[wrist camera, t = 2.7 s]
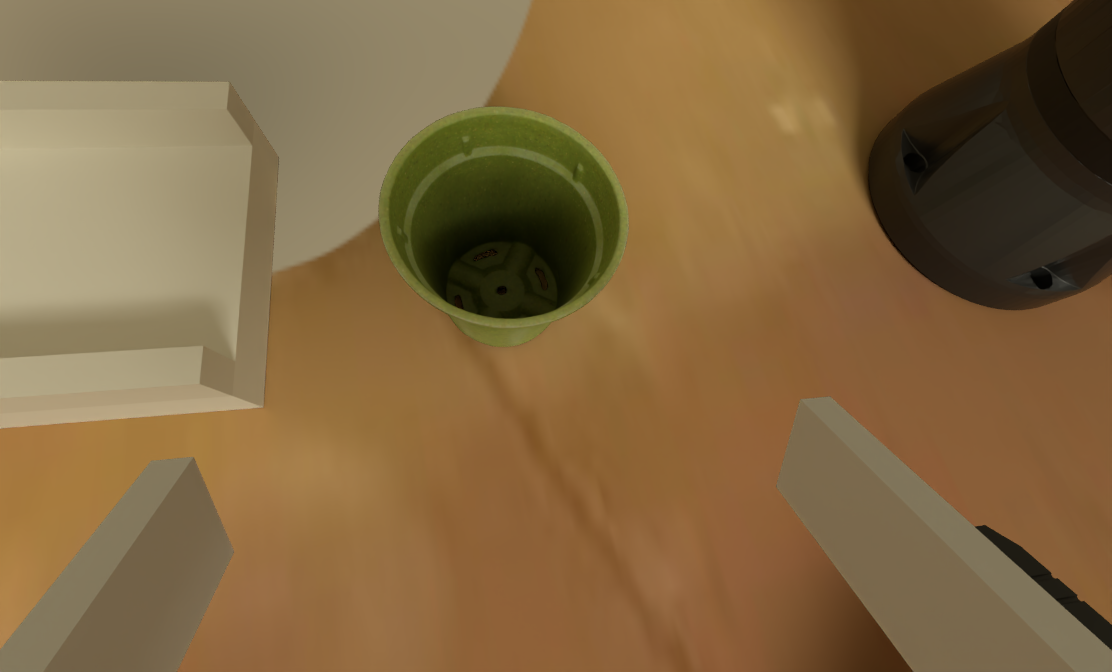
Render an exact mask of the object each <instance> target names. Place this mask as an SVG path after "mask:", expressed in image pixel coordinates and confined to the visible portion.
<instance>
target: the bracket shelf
mask: <svg viewBox="0 0 1112 672" xmlns="http://www.w3.org/2000/svg"><path fill="white" fill-rule="evenodd" d="M278 165H279V157H278V156H277V154H276V153H275V151H274V149H273V148H272V147H271V145H270V143H269V142H268V140H267V139H266V137H265V136H264V134H263V132H262V131H261V129H260V128H259V126H258V125H257V123H256V122H255V120H254V119H253V117H252V116H251V114H250V112H249V111H248V110H247V108H246V106H245V105H244V103H243V102H242V100H241V99H240V97H239V95H238V94H237V92H236V91H235V89H234V88H233V86H232V85H231V83H230V82H195V81H191V82H190V81H189V82H188V81H186V82H185V81H182V82H181V81H176V82H175V81H174V82H173V81H0V428H11V427H23V426H36V425H48V424H61V423H74V422H86V421H99V420H111V419H124V418H137V417H149V416H162V415H174V414H187V413H200V412H212V411H225V410H237V409H250V408H263V407H264V390H265V374H266V358H267V342H268V326H269V310H270V294H271V278H272V261H273V245H274V244H273V243H274V228H275V213H276V197H277V181H278Z"/></svg>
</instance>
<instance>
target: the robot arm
mask: <svg viewBox="0 0 1112 672" xmlns="http://www.w3.org/2000/svg"><path fill="white" fill-rule="evenodd" d="M869 184H870V191H871V195H872V199H873V203H874V206H875V209H876V211H877V214H878V216H879V218H880V220H881V222H882V224H883V226H884V228H885V230H886V231H887V233H888V235H889V236H890V238H891V239H892V241H893V242H894V244H895V245H896V246H897V247H898V249H899V250H900V251H901V252H902V254H903V255H904V256H905V257H906V258H907V259H908V260H909V261H910V262H911V263H912V264H913V265H914V266H915V267H916V268H917V269H918V270H919V271H920V272H922V273H923V274H924V275H925V276H927V277H928V278H929V279H930V280H932V281H933V282H935V283H936V284H937V285H939V286H941V287H942V288H944V289H945V290H947V291H949V292H951V293H953V294H955V295H957V296H959V297H961V298H963V299H965V300H968V301H970V302H973V303H976V304H979V305H983V306H987V307H991V308H996V309H1004V310H1025V309H1032V308H1037V307H1041V306H1044V305H1047V304H1050V303H1053V302H1055V301H1058V300H1061V299H1064V298H1067V297H1070V296H1073V295H1076V294H1078V293H1081V292H1083V291H1085V290H1087V289H1089V288H1091V287H1093V286H1095V285H1097V284H1098V283H1100V282H1101V281H1102V280H1104V279H1105V278H1107V277H1108V276H1109V275H1111V274H1112V0H1073V1H1072V2H1071V3H1070V4H1069V5H1068V6H1067V7H1065V8H1064V9H1063V10H1062V11H1061V12H1060V13H1058V14H1057V15H1056V16H1055V17H1054V18H1052V19H1051V20H1050V21H1049V22H1048V23H1047V24H1045V25H1044V26H1043V27H1042V28H1040V29H1039V30H1038V31H1037V32H1036V33H1034V34H1033V35H1032V36H1031V37H1029V38H1028V39H1026V40H1025V41H1023V42H1021V43H1019V44H1017V45H1015V46H1013V47H1011V48H1009V49H1007V50H1005V51H1003V52H1001V53H999V54H998V55H996V56H994V57H992V58H990V59H988V60H986V61H984V62H982V63H980V64H978V65H976V66H974V67H972V68H970V69H968V70H966V71H964V72H962V73H960V74H958V75H957V76H955V77H953V78H951V79H949V80H947V81H945V82H943V83H941V84H939V85H937V86H935V87H933V88H931V89H929V90H928V91H926V92H924V93H923V94H921V95H920V96H919V97H917V98H916V99H914V100H913V101H912V102H911V103H910V104H909V105H907V106H906V107H905V108H904V109H903V110H902V111H901V112H900V113H899V114H898V115H897V116H896V117H895V118H894V119H893V120H892V121H891V122H889V123H888V124H887V125H886V127H885V128H884V129H883V130H882V131H881V133H880V134H879V136H878V138H877V139H876V141H875V144H874V146H873V149H872V152H871V156H870V162H869ZM776 487H777V489H778V490H779V491H780V493H781V494H782V495H783V497H784V498H785V499H786V501H787V502H788V503H789V505H790V506H791V507H792V509H793V510H794V512H795V513H796V514H797V516H798V517H799V518H800V520H801V521H802V522H803V524H804V525H805V526H806V528H807V529H808V530H809V532H810V533H811V534H812V536H813V537H814V538H815V540H816V541H817V543H818V544H819V545H820V547H821V548H822V549H823V551H824V552H825V553H826V555H827V556H828V557H829V559H830V560H831V561H832V563H833V564H834V565H835V567H836V568H837V569H838V571H839V572H840V574H841V575H842V576H843V578H844V579H845V580H846V582H847V583H848V584H849V586H850V587H851V588H852V590H853V591H854V592H855V594H856V595H857V596H858V598H859V599H860V600H861V602H862V603H863V605H864V606H865V607H866V609H867V610H868V611H869V613H870V614H871V615H872V617H873V618H874V619H875V621H876V622H877V623H878V625H879V626H880V627H881V629H882V630H883V631H884V633H885V634H886V636H887V637H888V638H889V640H890V641H891V642H892V644H893V645H894V646H895V648H896V649H897V650H898V652H899V653H900V654H901V656H902V657H903V658H904V660H905V661H906V663H907V664H908V665H909V667H910V668H911V669H912V671H913V672H1112V625H1111V624H1110V623H1109V622H1108V621H1107V620H1105V619H1104V618H1103V617H1102V616H1101V615H1100V614H1098V613H1097V612H1096V611H1095V610H1094V609H1093V608H1091V607H1090V606H1089V605H1088V604H1087V603H1086V602H1085V601H1082V602H1081V601H1080V600H1079V599H1078V598H1077V595H1076V594H1075V593H1074V592H1073V591H1072V590H1071V589H1069V588H1068V587H1067V586H1066V585H1065V584H1064V583H1062V582H1061V581H1060V580H1059V579H1058V578H1056V579H1054V578H1053V577H1052V575H1051V572H1050V571H1049V570H1047V569H1046V568H1045V567H1044V566H1043V565H1042V564H1040V563H1039V562H1038V561H1037V560H1036V559H1035V558H1033V557H1032V556H1031V555H1030V554H1029V553H1028V552H1026V551H1025V550H1024V549H1023V548H1022V547H1021V546H1019V545H1017V544H1016V543H1014V542H1012V541H1011V540H1009V539H1007V538H1006V537H1004V536H1002V535H1001V534H999V533H997V532H996V531H994V530H992V529H990V528H989V527H987V526H985V525H983V526H976V527H974V526H973V525H972V524H971V523H970V522H969V521H967V520H966V519H965V518H964V517H963V516H962V515H961V514H960V513H959V512H957V511H956V510H955V509H954V508H953V507H952V506H951V505H950V504H949V503H948V502H946V501H945V500H944V499H943V498H942V497H941V496H940V495H939V494H938V493H936V492H935V491H934V490H933V489H932V488H931V487H930V486H929V485H928V484H926V483H925V482H924V481H923V480H922V479H921V478H920V477H919V476H918V475H916V474H915V473H914V472H913V471H912V470H911V469H910V468H909V467H908V466H906V465H905V464H904V463H903V462H902V461H901V460H900V459H899V458H898V457H896V456H895V455H894V454H893V453H892V452H891V451H890V450H889V449H888V448H886V447H885V446H884V445H883V444H882V443H881V442H880V441H879V440H878V439H877V438H875V437H874V436H873V435H872V434H871V433H870V432H869V431H868V430H867V429H865V428H864V427H863V426H862V425H861V424H860V423H859V422H858V421H857V420H855V419H854V418H853V417H852V416H851V415H850V414H849V413H848V412H847V411H845V410H844V409H843V408H842V407H841V406H840V405H839V404H838V403H837V402H835V401H834V400H833V399H832V398H831V397H820V398H810V399H800V402H799V406H798V409H797V413H796V417H795V420H794V424H793V427H792V431H791V435H790V438H789V442H788V445H787V449H786V453H785V456H784V460H783V463H782V467H781V471H780V474H779V478H778V481H777V485H776ZM233 553H234V550H233V548H232V545H231V543H230V541H229V538H228V536H227V534H226V531H225V529H224V527H223V524H222V522H221V520H220V517H219V515H218V513H217V510H216V508H215V506H214V503H213V501H212V499H211V496H210V494H209V492H208V489H207V487H206V485H205V482H204V480H203V478H202V475H201V473H200V471H199V468H198V466H197V464H196V461H195V459H194V457H187V458H177V459H166V460H156V461H151V462H150V463H149V464H148V466H147V467H146V468H145V469H144V471H143V472H142V473H141V474H140V476H139V477H138V478H137V479H136V481H135V482H134V483H133V484H132V486H131V487H130V488H129V489H128V491H127V492H126V493H125V494H124V496H123V497H122V498H121V499H120V501H119V502H118V503H117V504H116V506H115V507H114V508H113V509H112V511H111V512H110V513H109V514H108V516H107V517H106V518H105V519H104V521H103V522H102V523H101V524H100V526H99V527H98V528H97V529H96V531H95V532H94V533H93V534H92V536H91V537H90V538H89V539H88V541H87V542H86V543H85V544H84V546H83V547H82V548H81V549H80V551H79V552H78V553H77V554H76V556H75V557H74V558H73V559H72V561H71V562H70V563H69V564H68V566H67V567H66V568H65V569H64V571H63V572H62V573H61V574H60V576H59V577H58V578H57V579H56V581H55V582H54V583H53V584H52V586H51V587H50V588H49V589H48V591H47V592H46V593H45V594H44V596H43V597H42V598H41V599H40V601H39V602H38V603H37V604H36V606H35V607H34V608H33V609H32V611H31V612H30V613H29V614H28V616H27V617H26V618H25V619H24V621H23V622H22V623H21V624H20V626H19V627H18V628H17V629H16V631H15V632H14V633H13V634H12V636H11V637H10V638H9V639H8V641H7V642H6V643H5V644H4V646H3V647H2V648H1V649H0V672H177V670H178V668H179V666H180V664H181V662H182V660H183V658H184V656H185V654H186V652H187V649H188V647H189V645H190V643H191V641H192V639H193V637H194V635H195V633H196V631H197V629H198V626H199V624H200V622H201V620H202V618H203V616H204V614H205V612H206V610H207V608H208V606H209V603H210V601H211V599H212V597H213V595H214V593H215V591H216V589H217V587H218V585H219V583H220V580H221V578H222V576H223V574H224V572H225V570H226V568H227V566H228V564H229V562H230V560H231V557H232V555H233Z"/></svg>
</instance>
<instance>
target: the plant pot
mask: <svg viewBox="0 0 1112 672" xmlns="http://www.w3.org/2000/svg"><path fill="white" fill-rule="evenodd" d="M379 224H380V230H381V235H382V239H383V242H384V245H385V248H386V250H387V253H388V255H389V257H390V259H391V261H392V263H393V265H394V266H395V268H396V269H397V271H398V272H399V274H400V275H401V276H402V278H403V279H404V280H405V281H406V283H407V284H408V285H409V286H410V287H411V288H412V289H413V290H414V291H415V292H416V293H417V294H418V295H419V296H421V297H422V298H423V299H424V300H426V301H427V302H428V303H429V304H431V305H433V306H434V307H436V308H437V309H439V310H441V311H442V312H444V313H446V314H448V315H449V316H450V318H451V319H452V320H453V322H454V323H455V324H456V326H457V327H458V328H459V329H460V330H461V331H462V332H463V333H464V334H466V335H467V336H469V337H471V338H472V339H474V340H476V341H479V342H481V343H484V344H487V345H490V346H497V347H508V346H516V345H520V344H523V343H525V342H527V341H529V340H531V339H533V338H535V337H536V336H538V335H539V334H540V333H542V332H543V331H544V330H545V329H546V328H547V327H548V326H549V324H550V323H551V322H553V321H556V320H559V319H561V318H563V317H565V316H568V315H570V314H572V313H573V312H575V311H577V310H578V309H580V308H582V307H583V306H584V305H586V304H587V303H588V302H590V301H591V300H592V299H593V298H594V297H595V296H596V295H597V294H598V293H599V292H600V291H601V290H602V289H603V288H604V287H605V286H606V285H607V283H608V282H609V280H610V279H611V278H612V276H613V274H614V273H615V271H616V269H617V267H618V265H619V263H620V261H621V259H622V256H623V254H624V251H625V247H626V243H627V237H628V230H629V226H628V224H629V220H628V209H627V204H626V199H625V196H624V192H623V190H622V187H621V185H620V183H619V180H618V178H617V177H616V174H615V173H614V171H613V169H612V168H611V166H610V164H609V163H608V161H607V160H606V159H605V157H604V156H603V155H602V154H601V153H600V151H599V150H598V149H597V148H596V147H595V146H594V145H593V144H592V143H590V142H589V141H588V140H587V139H585V138H584V137H583V136H582V135H581V134H579V133H578V132H576V131H575V130H574V129H572V128H571V127H569V126H567V125H565V124H563V123H561V122H559V121H557V120H555V119H554V118H551V117H549V116H547V115H544V114H541V113H537V112H534V111H530V110H526V109H520V108H512V107H478V108H473V109H468V110H464V111H461V112H457V113H454V114H451V115H448V116H446V117H444V118H442V119H439V120H437V121H435V122H434V123H432V124H431V125H429V126H427V127H426V128H425V129H423V130H422V131H420V132H419V133H418V134H417V135H415V136H414V137H413V138H412V139H411V140H410V141H408V143H407V144H406V145H405V146H404V147H403V148H402V149H401V151H400V152H399V153H398V155H397V156H396V157H395V159H394V161H393V163H392V164H391V166H390V167H389V170H388V172H387V174H386V176H385V179H384V181H383V184H382V188H381V192H380V198H379ZM489 250H494V251H497V253H498V254H497V255H494V256H487V257H484V258H481V259H480V260H477V261H475V260H474V259H475V256H476V255H478V254H480V253H483V252H485V251H489ZM535 268H538V269H540V270H542V271H543V273H544V275H545V278H546V280H547V283H548V288H547V290H543V289H542V286H541V282H540V279H539V277H538V275H537V274H536V273H535ZM500 286H505V287H506V289H507V292H506V293H505V294H502V295H500V294H498V292H497V289H498V287H500ZM457 295H459V296H460V297H461V301H462V305H463V308H464V310H462V309H460V308H457V307H456V305H455V301H454V300H455V296H457Z"/></svg>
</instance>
